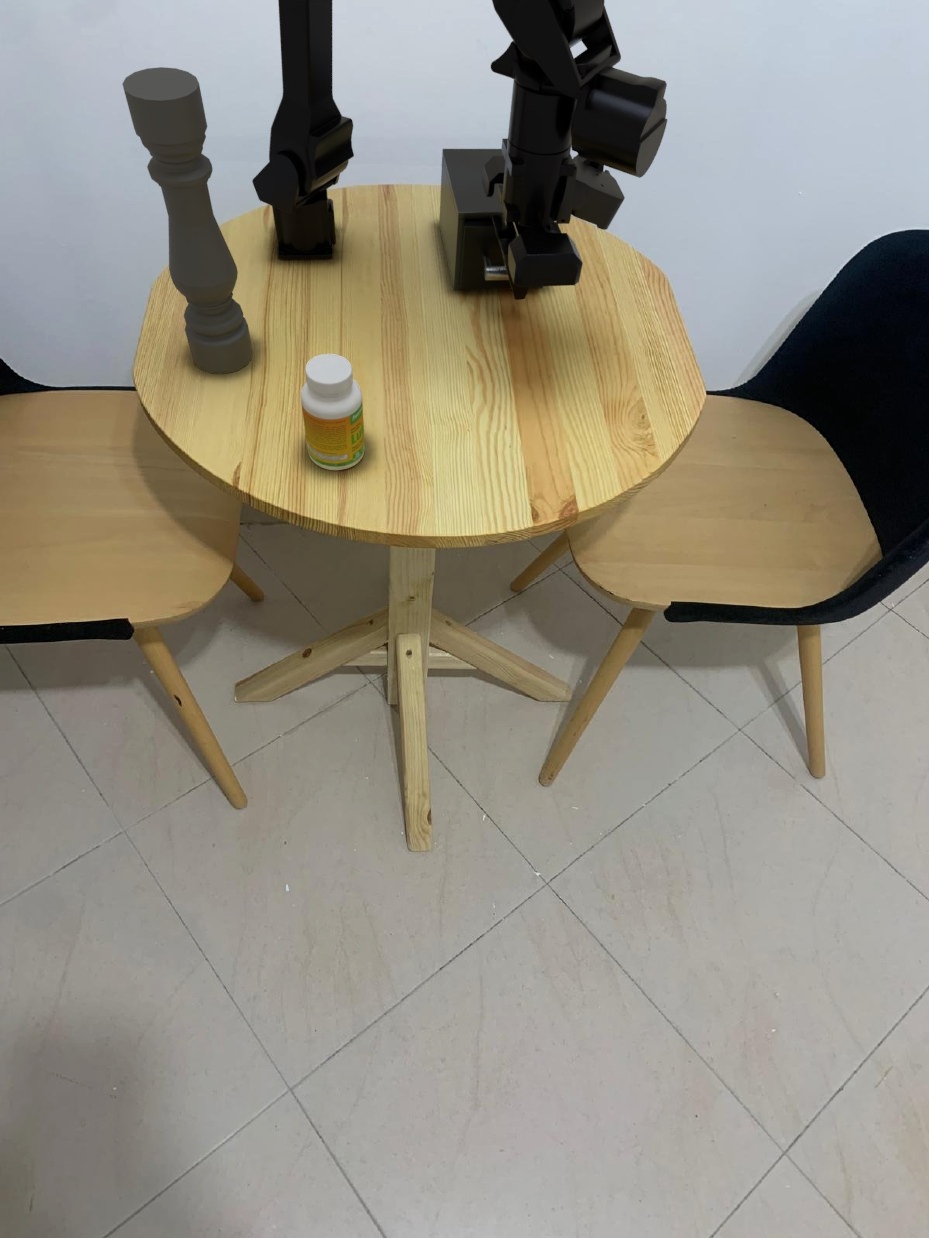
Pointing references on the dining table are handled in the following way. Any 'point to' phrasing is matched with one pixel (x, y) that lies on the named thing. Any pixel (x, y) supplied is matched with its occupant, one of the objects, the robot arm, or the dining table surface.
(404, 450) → the dining table surface
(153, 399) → the dining table surface
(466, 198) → the cabinet
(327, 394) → the supplement bottle
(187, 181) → the candle holder
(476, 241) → the drawer
